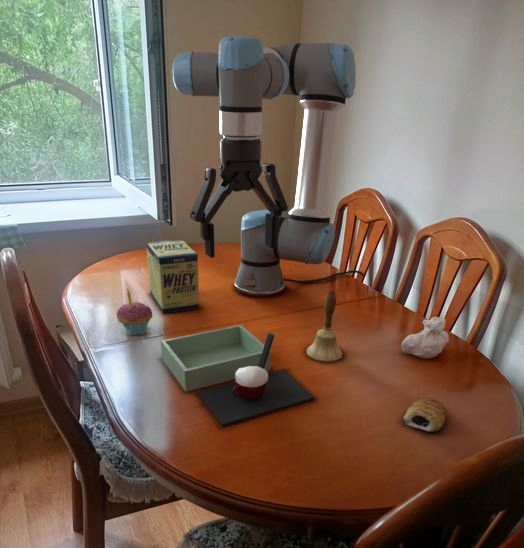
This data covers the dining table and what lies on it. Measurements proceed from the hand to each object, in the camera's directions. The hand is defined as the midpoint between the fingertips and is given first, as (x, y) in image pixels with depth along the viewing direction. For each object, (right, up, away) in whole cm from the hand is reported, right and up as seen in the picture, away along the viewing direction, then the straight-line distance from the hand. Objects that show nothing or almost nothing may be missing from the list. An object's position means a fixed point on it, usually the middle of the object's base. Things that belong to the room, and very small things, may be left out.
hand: (240, 251), depth 100 cm
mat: (+3, -29, -2) cm, 30 cm away
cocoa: (+2, -29, -2) cm, 29 cm away
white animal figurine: (+43, -22, +16) cm, 50 cm away
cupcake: (-27, -15, +23) cm, 39 cm away
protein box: (-21, -6, +40) cm, 46 cm away
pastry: (+35, -34, -7) cm, 49 cm away
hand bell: (+19, -21, +15) cm, 32 cm away
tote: (-6, -23, +9) cm, 26 cm away
